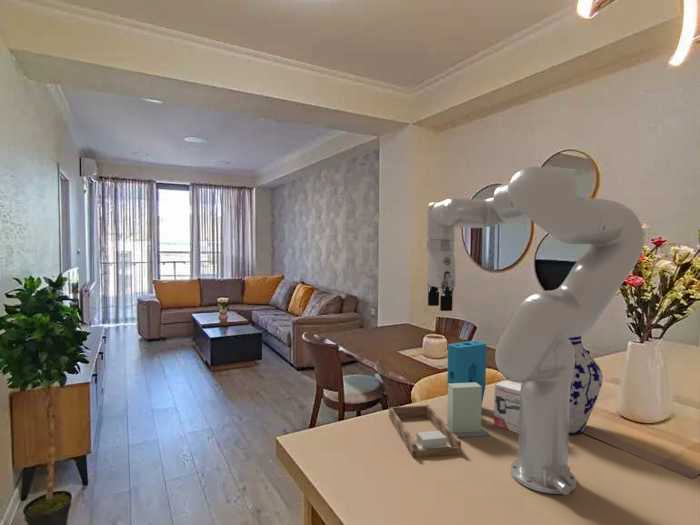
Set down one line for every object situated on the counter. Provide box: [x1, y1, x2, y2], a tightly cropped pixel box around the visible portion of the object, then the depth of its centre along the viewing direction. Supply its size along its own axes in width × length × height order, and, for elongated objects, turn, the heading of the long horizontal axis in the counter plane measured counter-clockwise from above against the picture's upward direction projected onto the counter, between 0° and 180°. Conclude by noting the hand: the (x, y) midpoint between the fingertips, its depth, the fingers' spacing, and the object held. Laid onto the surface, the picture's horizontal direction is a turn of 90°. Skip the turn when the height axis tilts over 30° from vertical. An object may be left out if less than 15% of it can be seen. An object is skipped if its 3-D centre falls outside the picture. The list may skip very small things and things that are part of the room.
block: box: [446, 340, 487, 407], centre depth 125 cm, size 12×5×20 cm, turn 119°
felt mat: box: [445, 423, 491, 439], centre depth 110 cm, size 8×11×1 cm
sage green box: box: [446, 382, 483, 433], centre depth 110 cm, size 4×8×12 cm, turn 98°
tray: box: [388, 404, 462, 458], centre depth 108 cm, size 23×12×3 cm, turn 9°
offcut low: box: [412, 438, 451, 449], centre depth 100 cm, size 5×8×2 cm, turn 98°
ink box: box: [493, 380, 522, 434], centre depth 112 cm, size 8×5×12 cm, turn 43°
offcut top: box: [416, 430, 446, 448], centre depth 100 cm, size 4×6×2 cm, turn 103°
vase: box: [568, 336, 604, 436], centre depth 113 cm, size 19×19×30 cm
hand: (439, 308), depth 114 cm, fingers open, 9 cm apart
